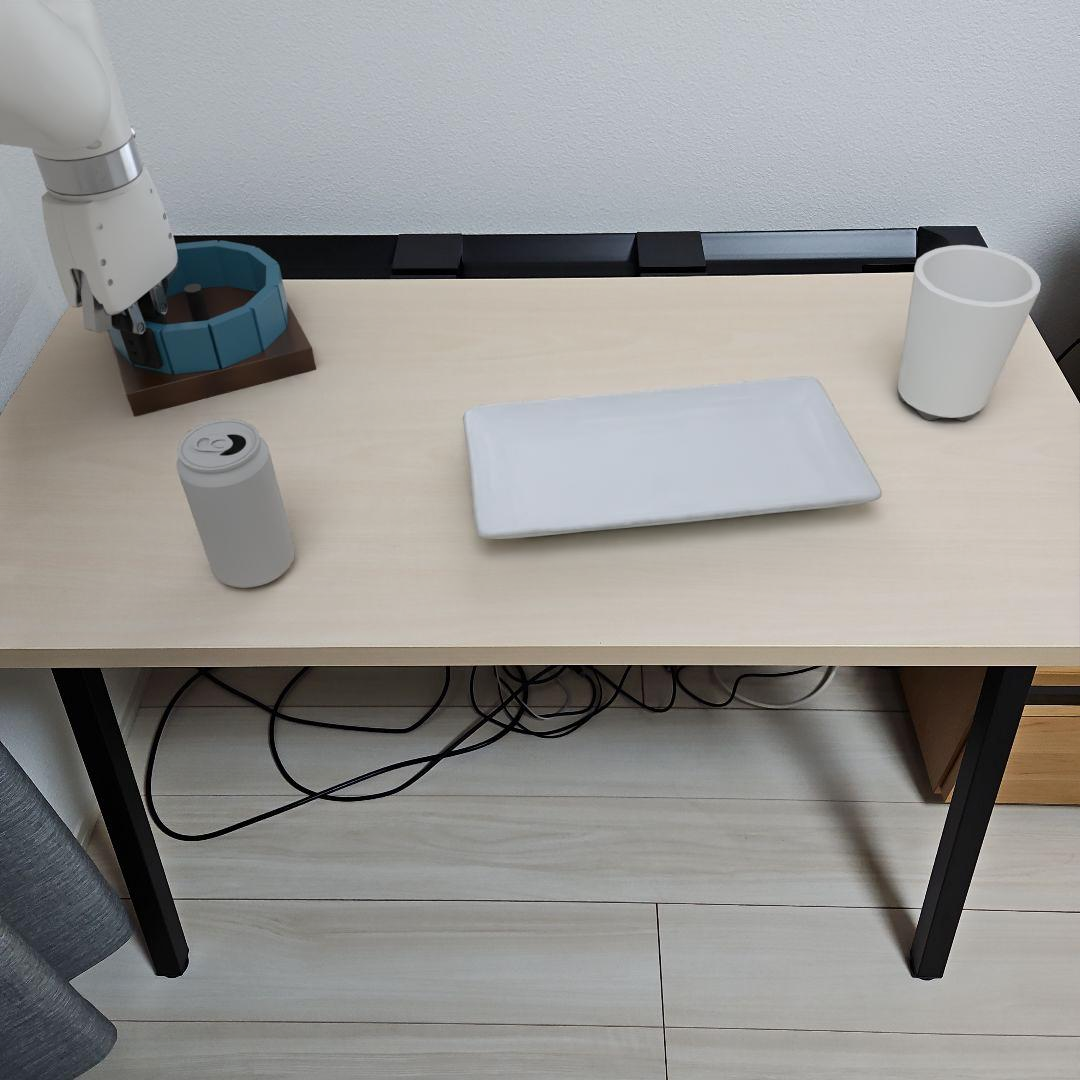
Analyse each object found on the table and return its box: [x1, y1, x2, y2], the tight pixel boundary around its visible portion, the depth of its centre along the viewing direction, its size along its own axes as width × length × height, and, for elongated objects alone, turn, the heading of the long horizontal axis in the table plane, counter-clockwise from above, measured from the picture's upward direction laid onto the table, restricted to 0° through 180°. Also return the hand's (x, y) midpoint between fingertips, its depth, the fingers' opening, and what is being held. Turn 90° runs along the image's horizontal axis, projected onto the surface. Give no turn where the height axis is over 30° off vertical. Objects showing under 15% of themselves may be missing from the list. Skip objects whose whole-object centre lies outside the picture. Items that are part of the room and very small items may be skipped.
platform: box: [107, 284, 317, 417], centre depth 101 cm, size 17×17×6 cm
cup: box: [897, 244, 1042, 422], centre depth 90 cm, size 10×10×13 cm
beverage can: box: [176, 418, 296, 589], centre depth 77 cm, size 6×6×12 cm
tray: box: [462, 375, 883, 540], centre depth 86 cm, size 17×32×4 cm, turn 97°
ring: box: [108, 239, 288, 374], centre depth 99 cm, size 17×17×4 cm
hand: (153, 358), depth 95 cm, fingers closed on ring, 1 cm apart
